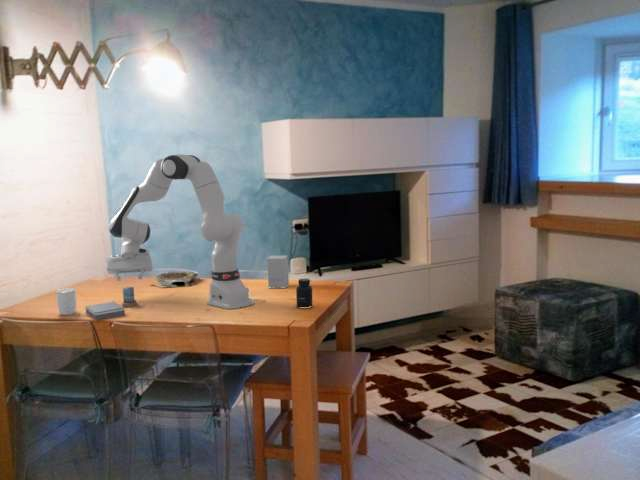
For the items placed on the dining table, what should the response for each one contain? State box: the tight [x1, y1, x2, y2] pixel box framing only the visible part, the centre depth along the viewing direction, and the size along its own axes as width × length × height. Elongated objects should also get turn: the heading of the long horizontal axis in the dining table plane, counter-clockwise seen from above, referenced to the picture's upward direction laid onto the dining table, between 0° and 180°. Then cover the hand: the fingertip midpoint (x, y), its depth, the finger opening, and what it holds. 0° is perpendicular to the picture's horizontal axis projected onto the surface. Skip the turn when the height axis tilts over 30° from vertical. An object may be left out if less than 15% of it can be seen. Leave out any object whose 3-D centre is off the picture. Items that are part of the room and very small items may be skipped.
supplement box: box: [266, 255, 290, 289], centre depth 292 cm, size 9×9×15 cm
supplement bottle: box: [295, 278, 313, 308], centre depth 252 cm, size 7×7×12 cm
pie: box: [152, 271, 199, 289], centre depth 310 cm, size 28×27×5 cm
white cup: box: [55, 287, 77, 316], centre depth 254 cm, size 8×8×10 cm
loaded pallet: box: [121, 286, 137, 308], centre depth 265 cm, size 7×5×8 cm
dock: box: [84, 301, 126, 320], centre depth 251 cm, size 14×12×3 cm
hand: (129, 279), depth 271 cm, fingers open, 8 cm apart
